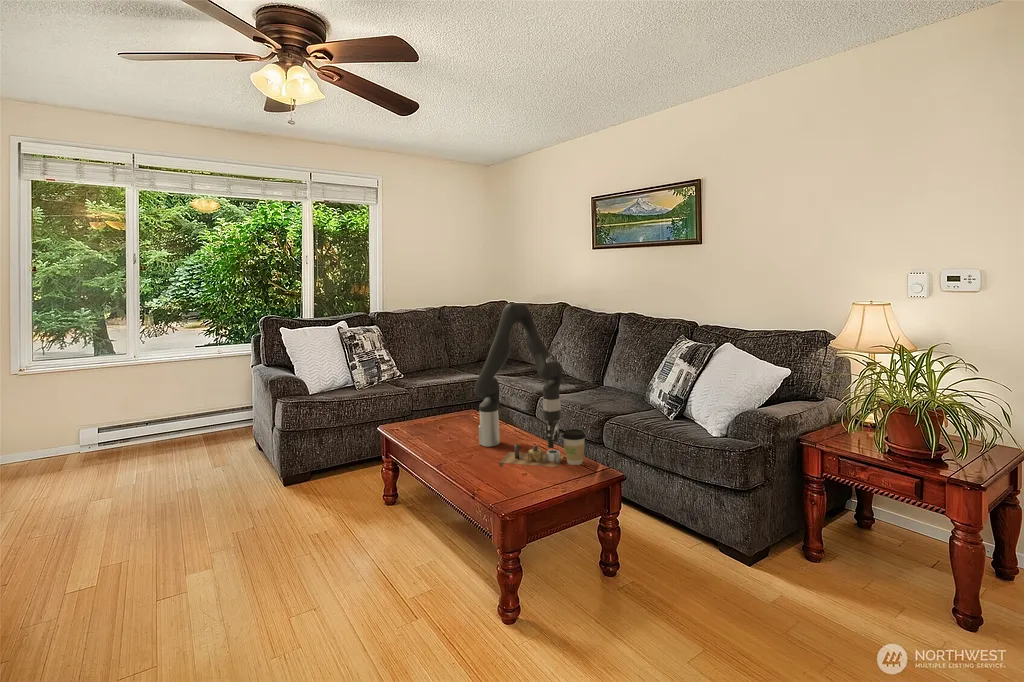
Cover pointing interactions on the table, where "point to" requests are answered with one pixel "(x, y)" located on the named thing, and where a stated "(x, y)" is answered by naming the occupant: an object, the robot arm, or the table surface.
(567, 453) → the coffee cup
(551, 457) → the steel gear
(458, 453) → the table surface
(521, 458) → the gear board
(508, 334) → the robot arm
